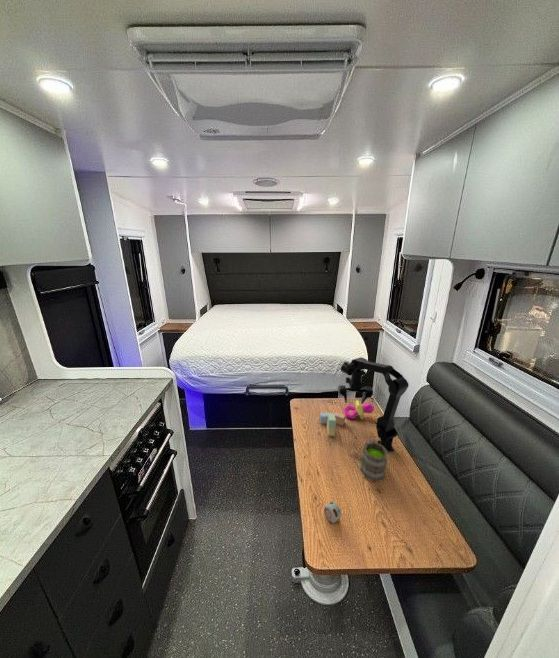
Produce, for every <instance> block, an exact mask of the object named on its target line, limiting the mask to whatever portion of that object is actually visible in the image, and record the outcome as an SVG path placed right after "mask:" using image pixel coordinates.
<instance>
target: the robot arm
mask: <svg viewBox="0 0 559 658" xmlns="http://www.w3.org/2000/svg"><path fill="white" fill-rule="evenodd" d="M365 370H366V371H371V372H374V373H378V374H382V375H383V377H384V380H385V381H384V382H385V383H386V384H387V386H388V388H387V389H388V393H389V396H388V399H387V402H386V405H385V409H384V412H383V415H382V416H380V417H378V418H377V419H376V423H375V425H376V426H375V428H376V431H377V432H376V433H377V437H378V438H379V440H377V443H378V444H380V445H383V446H384V447H385V449H386V450H387V451H388V452H394V451H395V449H394V447H393V441H394V438H396V437H397V436H398V435H399V434H398V432H397V429H396V427H395V424H396V423H395V421H394V417H395V414H396V412H397V408H398V405H399V404H400V400H401V397H402V395H404V393H406V391H407V389H408V387H409V382H408V380H407V379H406V378H405V377H404V376H403V375H402V374H401V373H400V372H399V371H397V370H396V369H395V368H394V367H393V366H392V365H389V364H388V365H387V364H384V363H379V362H374V361H369V360H368V359H367V358H365V357H361V356H360V357H357V358H353V359H352V360H351V362H350V363H349V361H343V364H342V365H341V367H340V371H341V372H342V373H344V374H345V375H347V376H350V377H351V378H350V377H345V383H346V384H348V386H349V387H346V385H345V384H344V385H343V384H339V385H338V387H337V390H338V393H339V395H341V396H343V398H344V402H345V404H347V402H348V399H347V398H348V394H347V393H348V392H349V393H350V392H351V393H353V392H354V393H362V397H361V402H360V404H361V405H364V402H365V401H366V400H368V399H369V397H371V396H374V390H373V388H372V386H370V385H369V386H368V385H365V386H363V387H362V385H363V383H362V382H363V381H362V380H363V376H366V375H367V373H366V371H365ZM391 376H392V377H394V378H395V379H392V378H391Z"/></svg>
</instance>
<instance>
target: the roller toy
mask: <svg viewBox="0 0 559 658" xmlns="http://www.w3.org/2000/svg"><path fill="white" fill-rule="evenodd" d="M323 511H324V514H325V516H326V518H327V520H328V521H329V522H331V523H332V524H335V523H336V522H337V523H340V522H341V517H342V510H341V507H340V506H339V505H338V504H337V502H335V501H330V502H329V503H327V504H326V505H324V508H323Z"/></svg>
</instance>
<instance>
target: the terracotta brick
mask: <svg viewBox="0 0 559 658" xmlns="http://www.w3.org/2000/svg"><path fill="white" fill-rule="evenodd" d="M333 414H335V418H336V425H340V426H344V424H345V422H346V415H345V414H344V413H340V412H337V411H335V413H333Z"/></svg>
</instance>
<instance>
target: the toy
mask: <svg viewBox="0 0 559 658" xmlns="http://www.w3.org/2000/svg"><path fill="white" fill-rule="evenodd" d="M374 409H375V406H374V405H373V404H372V403H371V402H366V403H363V404H362V403H361V402H359V400H358V399H356V400H355V406H354V405H350V404H348V405H346V406H345V408H343V412H344V413H343V414H344V415H346V416H345V418H349V419H353V420H354V418H355V417H356V416H357V415H358V416H357V417H358V418H359V419H360V420H362V421H363V420H364V414H372V413H373V412H374ZM349 411H352V412H349Z"/></svg>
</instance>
